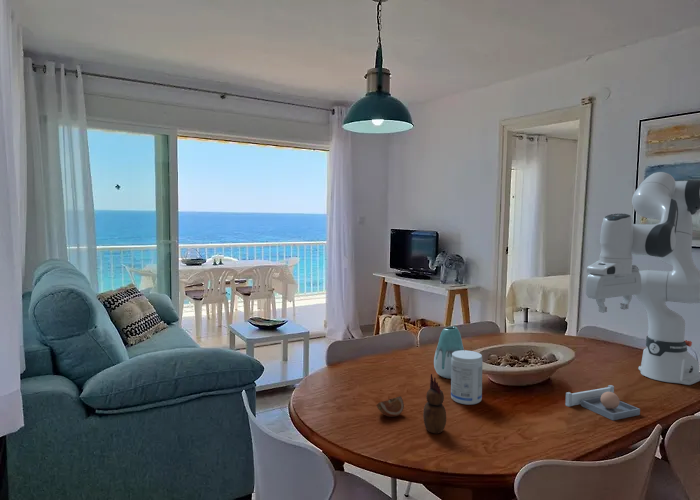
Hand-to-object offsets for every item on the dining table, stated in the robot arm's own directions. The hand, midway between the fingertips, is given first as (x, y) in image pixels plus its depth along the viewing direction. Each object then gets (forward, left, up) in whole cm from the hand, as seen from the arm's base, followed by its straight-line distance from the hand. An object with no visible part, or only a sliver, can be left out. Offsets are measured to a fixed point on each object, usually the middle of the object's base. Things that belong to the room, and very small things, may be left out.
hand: (613, 310), depth 144 cm
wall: (+6, -2, -29) cm, 30 cm away
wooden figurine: (+63, -2, -29) cm, 69 cm away
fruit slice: (+70, -15, -29) cm, 77 cm away
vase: (+34, -38, -29) cm, 59 cm away
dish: (+6, +5, -29) cm, 30 cm away
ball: (+6, +5, -29) cm, 30 cm away
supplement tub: (+42, -17, -29) cm, 54 cm away
